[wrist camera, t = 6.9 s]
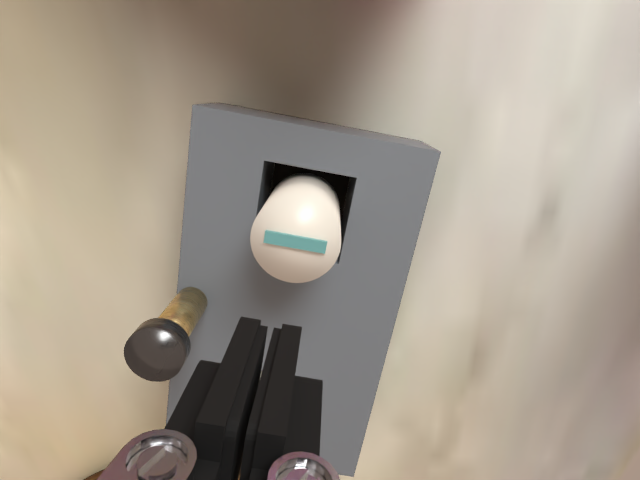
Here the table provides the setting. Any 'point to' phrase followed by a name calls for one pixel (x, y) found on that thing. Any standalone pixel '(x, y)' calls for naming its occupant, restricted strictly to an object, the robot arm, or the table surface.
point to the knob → (298, 229)
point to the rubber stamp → (166, 337)
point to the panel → (317, 295)
